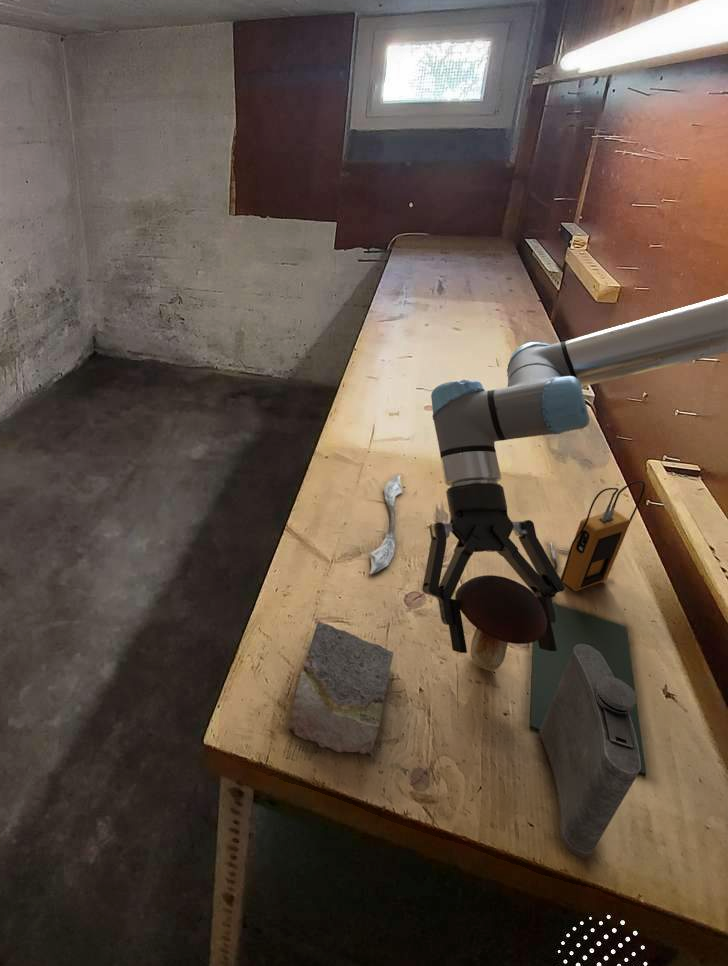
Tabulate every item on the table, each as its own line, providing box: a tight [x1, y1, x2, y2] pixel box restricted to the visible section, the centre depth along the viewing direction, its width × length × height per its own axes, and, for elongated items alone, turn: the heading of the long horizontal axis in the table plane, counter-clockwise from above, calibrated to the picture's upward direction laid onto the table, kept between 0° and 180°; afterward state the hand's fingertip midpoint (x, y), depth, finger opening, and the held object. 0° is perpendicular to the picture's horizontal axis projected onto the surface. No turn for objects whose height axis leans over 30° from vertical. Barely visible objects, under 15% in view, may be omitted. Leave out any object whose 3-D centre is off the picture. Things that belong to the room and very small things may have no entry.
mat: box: [529, 602, 647, 776], centre depth 78 cm, size 12×24×1 cm, turn 150°
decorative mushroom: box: [454, 574, 547, 671], centre depth 77 cm, size 11×11×15 cm
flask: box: [539, 644, 641, 858], centre depth 61 cm, size 4×14×18 cm, turn 161°
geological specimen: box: [288, 620, 394, 756], centre depth 75 cm, size 11×6×15 cm
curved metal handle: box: [369, 473, 404, 575], centre depth 108 cm, size 32×1×5 cm
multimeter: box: [549, 480, 646, 592], centre depth 92 cm, size 15×10×20 cm
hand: (504, 650), depth 75 cm, fingers closed on decorative mushroom, 11 cm apart
